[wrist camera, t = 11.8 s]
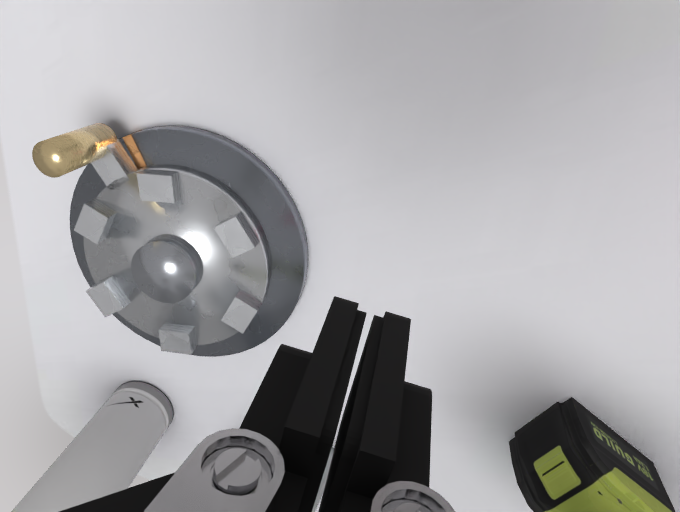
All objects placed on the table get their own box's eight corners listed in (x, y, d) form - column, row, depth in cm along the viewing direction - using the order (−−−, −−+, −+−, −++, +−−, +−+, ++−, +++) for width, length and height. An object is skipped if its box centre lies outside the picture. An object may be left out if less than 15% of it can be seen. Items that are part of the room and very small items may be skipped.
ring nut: (306, 298, 43) (285, 341, 37) (164, 356, 48) (127, 401, 42) (170, 75, 37) (122, 86, 32) (26, 167, 42) (-36, 191, 37)
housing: (82, 95, 41) (70, 98, 40) (332, 166, 40) (328, 171, 39) (79, 310, 50) (68, 318, 49) (283, 373, 49) (279, 383, 47)
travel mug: (140, 367, 52) (-21, 557, 34) (186, 415, 53) (55, 621, 35) (100, 393, 54) (-70, 584, 36) (146, 438, 56) (4, 643, 38)
